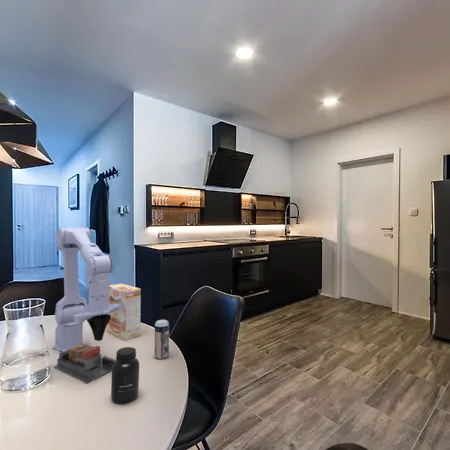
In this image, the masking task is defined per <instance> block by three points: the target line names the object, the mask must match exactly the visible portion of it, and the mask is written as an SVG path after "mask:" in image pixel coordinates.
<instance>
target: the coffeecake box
mask: <svg viewBox="0 0 450 450" xmlns="http://www.w3.org/2000/svg"><path fill="white" fill-rule="evenodd" d="M141 291H142V289H141V288H139V287H136V286H132V285H129V284H126V283H125V284H124V283H116V284H109V305H113V304H120V305H121V310H120V311H114V312H111V313H108V315H111V319H110V320H109V322H108V324H107V326H106V332H108V333H110V334H112V335H114V336H115V337H117V338H120V339H122V340H123V341H129V340H131V339H134V338H138V337H141V301H142V299H141V297H142V296H141V295H142V294H141Z"/></svg>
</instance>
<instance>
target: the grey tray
mask: <svg viewBox="0 0 450 450" xmlns="http://www.w3.org/2000/svg"><path fill="white" fill-rule="evenodd" d="M68 356H69V350H67V351H64V352H62V351H60V352H59V353H58V358H56V359H57V360H56V361H57V364H56V365H55V366H54V367H53V368H54V369H55V370H58V371H59V372H62V373H64V374H66V375H68V376H70V377H73V379H74V378H75V379H76V380H78V381H80V382H83V383H85V384H90V383H92V382H93V381H96V380H97V379H99V378H101V377H103V376H105V375H107V374H110V373H112V365H113V363H114V362H115V361H116V359H113V358H112V357H108V356H107V355H104V356H101V364H100V365H98V366H96V367H94V368H91V369H86V368H84V367H82V366H79V365H77V364H75V363H72V362H70V361H68Z"/></svg>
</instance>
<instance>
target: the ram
mask: <svg viewBox="0 0 450 450" xmlns="http://www.w3.org/2000/svg"><path fill="white" fill-rule="evenodd" d="M101 359H102V354H101V347H100V346H98V345H94V346H92V348H89V349H87V350H84V351H82V356H81V357H79V358H77V365H79V366H82V367H84V368H86V369H91V368H94V367H96V366H98V365H100V364H101Z"/></svg>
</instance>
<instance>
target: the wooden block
mask: <svg viewBox="0 0 450 450" xmlns="http://www.w3.org/2000/svg"><path fill="white" fill-rule="evenodd" d="M84 343H85V342H83V344H80V345H77V346H75V347H72V348H69V356H68V361H70V362H72V363H75V364H77V358H79V357H81V356H82V351H84V350H87V349H89V348H92V347H93V345H90V344H88V343H85V344H84ZM87 344H88V345H87Z"/></svg>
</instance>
